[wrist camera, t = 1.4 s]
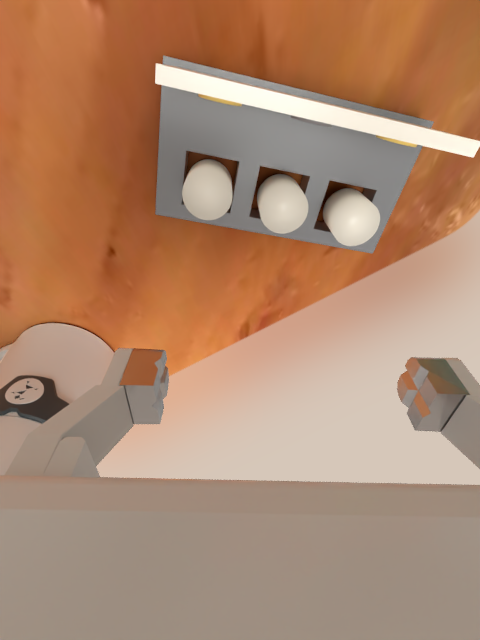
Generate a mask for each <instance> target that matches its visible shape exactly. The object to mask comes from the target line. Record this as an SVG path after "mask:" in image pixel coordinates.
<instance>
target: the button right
mask: <svg viewBox="0 0 480 640" xmlns="http://www.w3.org/2000/svg"><path fill="white" fill-rule="evenodd" d="M323 219H324V221H325V223H326V225H327V226H328V228H329V229H330V231H331V232H332V234H333V235H334V237H335V238H336V240H337V241H338V242H339V243H341V244H343V245H346V246H357V245H360V244H363V243H365V242H366V241H368V240H369V239H370V238H371V237H372V236H373V235H374V234H375V232H376V231H377V229H378V227H379V223H380V213H379V211H378V209H377V207H376V206H375V205H374V204H373V203H372V202H371V201H369V200H368V199H367V198H366V197H365V196H364V195H363V194H362V193H360V192H359V191H358V190H356V189H353V188H344V189H341V190H338V191H336V192H335V193H333V194H332V195H331V196H330V197H329V198H328V200H327V201H326V203H325V205H324V208H323Z"/></svg>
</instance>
